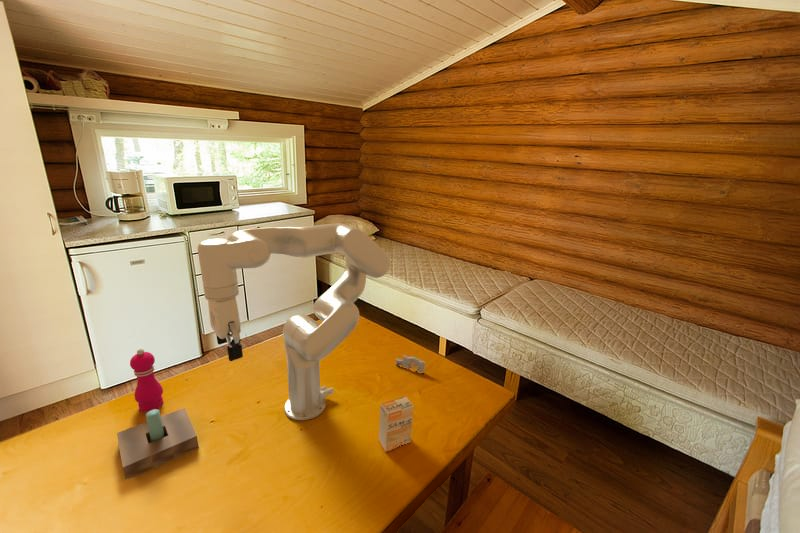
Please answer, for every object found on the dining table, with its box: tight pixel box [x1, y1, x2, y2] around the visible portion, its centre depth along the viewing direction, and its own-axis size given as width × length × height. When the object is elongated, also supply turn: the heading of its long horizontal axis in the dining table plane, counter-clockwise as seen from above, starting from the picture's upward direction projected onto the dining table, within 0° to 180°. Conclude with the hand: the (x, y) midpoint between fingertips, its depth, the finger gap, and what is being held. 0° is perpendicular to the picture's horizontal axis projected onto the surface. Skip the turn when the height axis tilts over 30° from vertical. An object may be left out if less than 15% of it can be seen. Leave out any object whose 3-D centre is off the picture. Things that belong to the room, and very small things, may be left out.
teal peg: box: [145, 408, 165, 442], centre depth 95 cm, size 3×3×11 cm
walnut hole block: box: [116, 407, 200, 481], centre depth 96 cm, size 16×14×4 cm
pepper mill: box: [129, 348, 164, 413], centre depth 108 cm, size 7×7×20 cm
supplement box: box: [378, 396, 414, 453], centre depth 100 cm, size 8×5×13 cm, turn 117°
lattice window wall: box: [395, 355, 427, 373], centre depth 135 cm, size 12×2×6 cm, turn 64°
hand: (230, 350), depth 93 cm, fingers open, 9 cm apart
